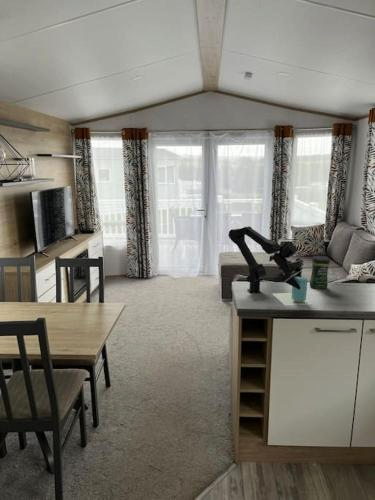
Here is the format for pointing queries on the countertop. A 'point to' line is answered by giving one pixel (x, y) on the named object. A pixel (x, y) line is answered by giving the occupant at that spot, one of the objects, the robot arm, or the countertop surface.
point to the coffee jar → (319, 272)
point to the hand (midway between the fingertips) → (302, 287)
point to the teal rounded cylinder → (300, 293)
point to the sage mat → (289, 299)
